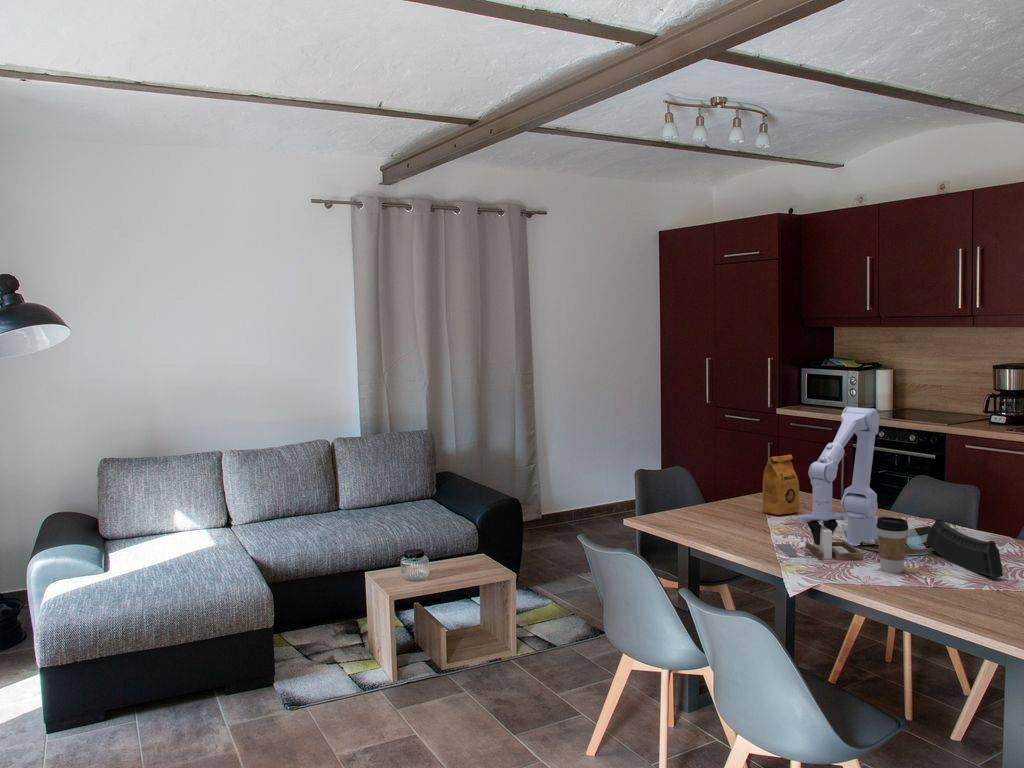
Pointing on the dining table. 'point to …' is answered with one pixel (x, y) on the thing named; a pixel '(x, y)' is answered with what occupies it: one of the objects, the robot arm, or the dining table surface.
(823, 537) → the white rectangular block
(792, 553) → the mat
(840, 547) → the offcut upper
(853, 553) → the brown wooden frame
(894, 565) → the coffee cup
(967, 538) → the magazine
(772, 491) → the coffee package
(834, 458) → the robot arm
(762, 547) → the dining table surface
